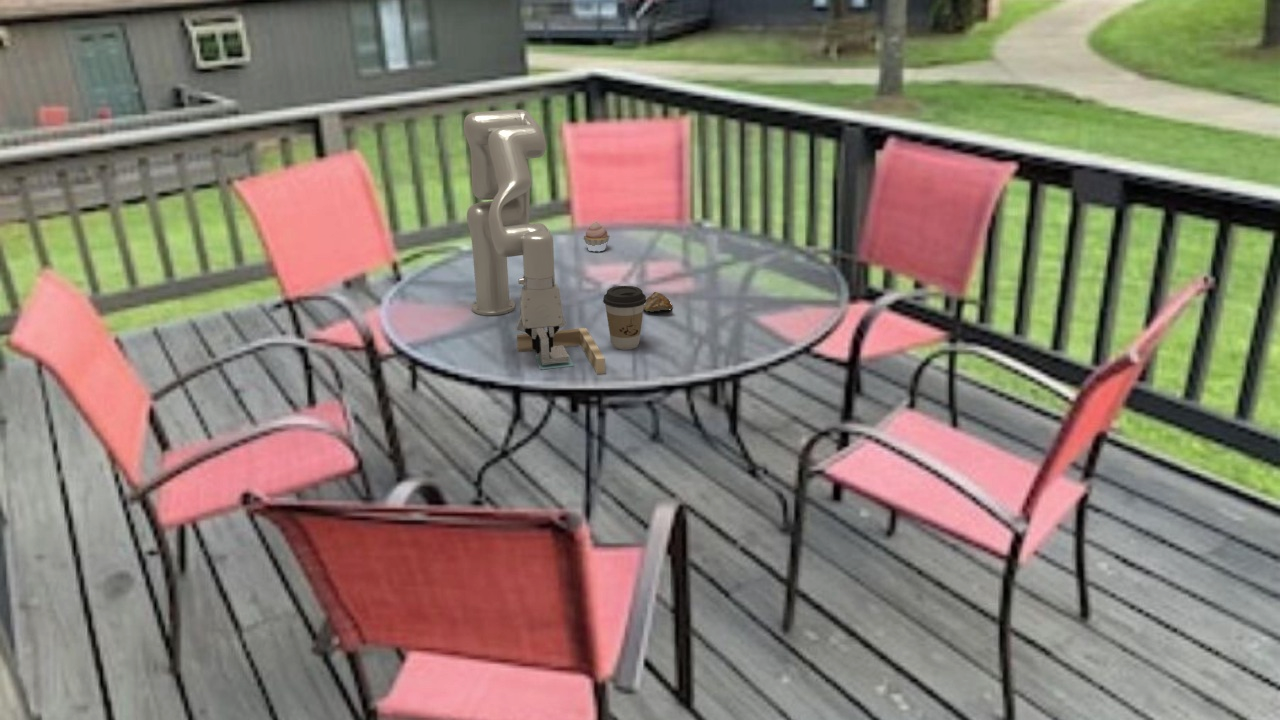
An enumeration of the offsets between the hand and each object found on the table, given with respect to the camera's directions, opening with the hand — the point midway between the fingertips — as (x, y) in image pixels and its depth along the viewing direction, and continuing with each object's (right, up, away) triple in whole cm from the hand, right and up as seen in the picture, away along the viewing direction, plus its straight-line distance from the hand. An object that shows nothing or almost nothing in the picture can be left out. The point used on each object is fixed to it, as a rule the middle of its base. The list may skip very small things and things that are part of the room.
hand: (542, 350), depth 251 cm
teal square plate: (+3, -3, +2) cm, 4 cm away
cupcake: (+10, +36, +94) cm, 101 cm away
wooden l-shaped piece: (+4, -3, +2) cm, 5 cm away
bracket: (+2, -2, +2) cm, 3 cm away
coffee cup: (+21, +1, +12) cm, 24 cm away
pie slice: (+30, +12, +38) cm, 50 cm away
